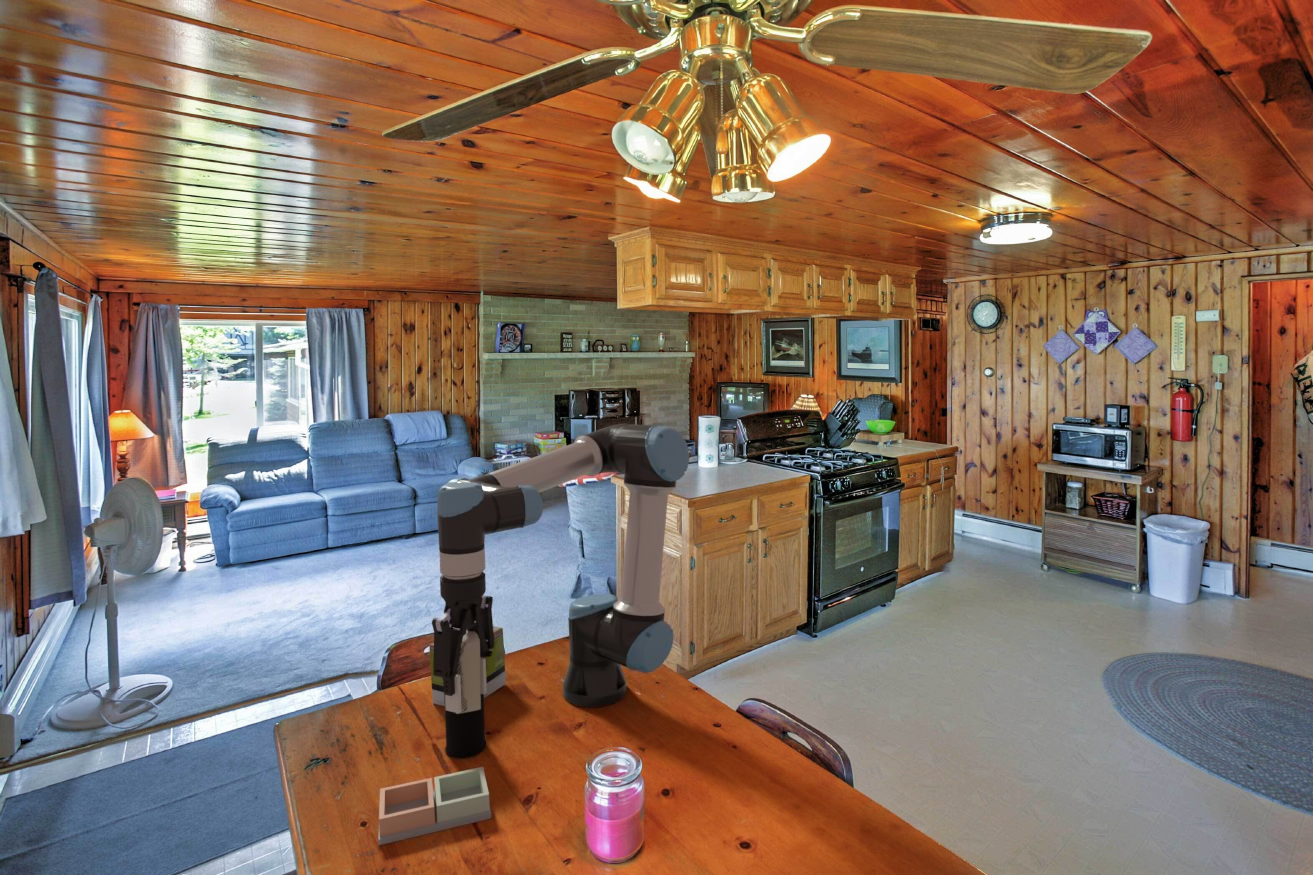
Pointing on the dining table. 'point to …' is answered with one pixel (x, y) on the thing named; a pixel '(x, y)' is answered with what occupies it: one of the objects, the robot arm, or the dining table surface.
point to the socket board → (432, 805)
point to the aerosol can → (465, 732)
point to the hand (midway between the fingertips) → (466, 700)
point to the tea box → (493, 673)
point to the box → (470, 672)
